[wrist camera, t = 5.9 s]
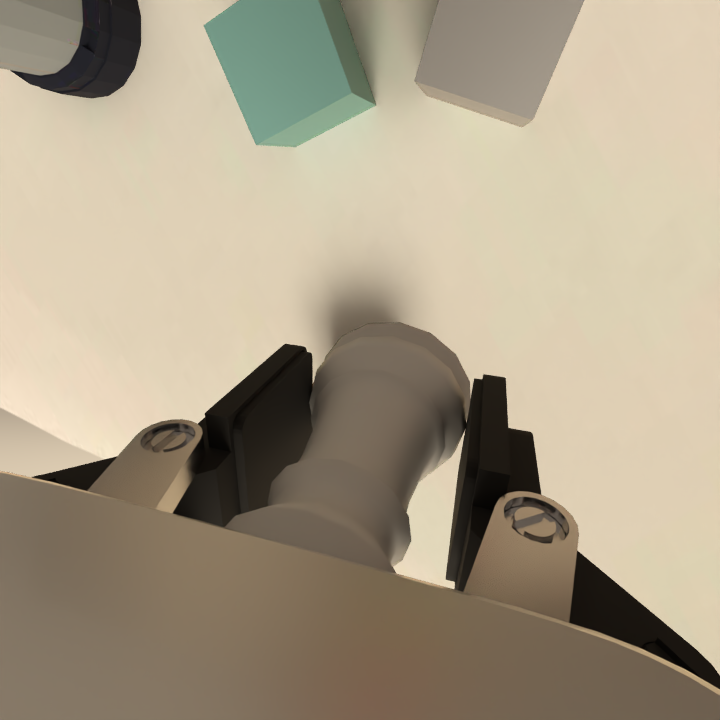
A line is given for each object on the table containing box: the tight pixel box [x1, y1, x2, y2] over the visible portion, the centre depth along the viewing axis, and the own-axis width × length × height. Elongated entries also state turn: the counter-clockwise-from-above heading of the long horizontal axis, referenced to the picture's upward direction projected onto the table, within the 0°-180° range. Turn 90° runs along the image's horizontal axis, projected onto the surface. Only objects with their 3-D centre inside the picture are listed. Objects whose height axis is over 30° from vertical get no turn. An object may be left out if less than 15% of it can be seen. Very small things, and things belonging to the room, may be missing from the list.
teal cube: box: [204, 0, 376, 147], centre depth 21 cm, size 5×5×5 cm
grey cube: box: [415, 0, 584, 127], centre depth 18 cm, size 5×5×5 cm
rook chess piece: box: [225, 322, 470, 573], centre depth 9 cm, size 4×4×8 cm
